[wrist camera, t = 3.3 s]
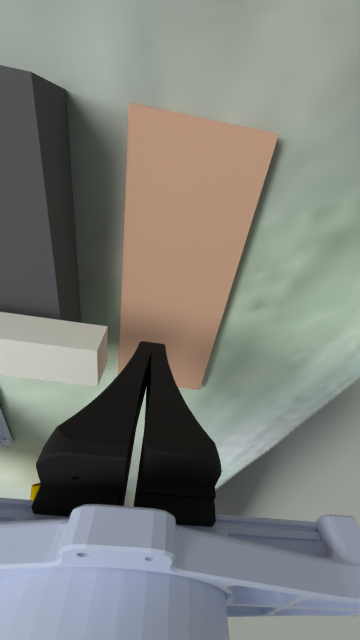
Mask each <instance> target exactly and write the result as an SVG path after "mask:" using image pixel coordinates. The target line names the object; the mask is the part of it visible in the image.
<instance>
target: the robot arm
mask: <svg viewBox="0 0 360 640" xmlns="http://www.w3.org/2000/svg"><path fill="white" fill-rule="evenodd" d="M146 386H147V390H146ZM145 390H146V411H145V427H144V436H143V443H142V450H141V457H140V465H139V472H138V479H137V486H136V493H135V500H134V507H128V506H124V501H125V495H126V489H127V482H128V476H129V470H130V463H131V457H132V451H133V444H134V438H135V432H136V427H137V422H138V418H139V414H140V410H141V406H142V402H143V398H144V394H145ZM12 443H13V440H12V437H11V435H10V432H9V429H8V426H7V424H6V421H5V418H4V416H3V413H2V410H1V407H0V447H1V446H11V445H12ZM36 469H37V472H38V476H39V479H40V482H41V485H40V487H39V490H38V492H37V494H36V497H35V499H34V500H23V499H10V498H0V640H230V639H229V629H228V618H227V617H250V616H251V617H252V616H353V617H354V616H358V615H360V528H359V526H358V524H357V522H356V520H355V518H354V517H352V516H342V515H324V516H321V517H320V518H319V519H318V520H317V521H316V522H307V521H294V520H281V519H269V518H256V517H242V516H230V515H229V516H228V515H216V514H215V505H214V499H215V496H216V495H215V485H216V483H217V481H218V479H219V477H220V475H221V472H222V470H221V463H220V459H219V455H218V451H217V448H216V445H215V443H214V442H213V440H212V439H211V438H210V437H209V436H208V435H207V433H206V432H205V431H204V430H203V428H202V427H201V426H200V424H199V423H198V422H197V420H196V419H195V417H194V416H193V414H192V412H191V411H190V409H189V408H188V406H187V404H186V403H185V401H184V399H183V397H182V395H181V393H180V391H179V389H178V387H177V385H176V382H175V380H174V377H173V375H172V372H171V369H170V366H169V363H168V359H167V354H166V347H165V345H164V344H161V343H153V342H146V341H141V342H140V343H139V345H138V347H137V349H136V351H135V353H134V354H133V356H132V357H131V359H130V360H129V362H128V363H127V365H126V366H125V367H124V369H123V370H122V371H121V372H120V374H119V375H118V376H117V377H116V378H115V379H114V381H113V382H112V383H111V384H110V385H109V386H108V387H107V388H106V389H105V390H104V391H103V392H102V393H101V394H100V395H99V396H98V397H96V398H95V399H94V400H93V401H92V402H91V403H89V404H88V405H87V406H86V407H84V408H83V409H82V410H81V411H79V412H78V413H77V414H75V415H74V416H72V417H71V418H69V419H68V420H66V421H65V422H63V423H62V424H60V425H59V426H57V428H56V429H55V430H54V432H53V433H52V435H51V436H50V438H49V439H48V441H47V442H46V444H45V446H44V448H43V450H42V452H41V454H40V456H39V458H38V461H37V463H36Z"/></svg>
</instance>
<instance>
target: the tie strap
mask: <svg viewBox="0 0 360 640" xmlns="http://www.w3.org/2000/svg"><path fill="white" fill-rule="evenodd" d="M107 336H108V326H101V325H93V324H86V323H79V322H71V321H64V320H57V319H49V318H42V317H35V316H27V315H20V314H13V313H6V312H0V375H3V376H12V377H20V378H29V379H37V380H46V381H54V382H63V383H72V384H80V385H89V386H97V387H98V385H99V382H100V379H101V377H102V374H103V371H104V368H105V366H106V363H107Z"/></svg>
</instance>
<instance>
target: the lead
mask: <svg viewBox="0 0 360 640" xmlns="http://www.w3.org/2000/svg"><path fill="white" fill-rule="evenodd" d="M0 312H6V313H13V314H20V315H27V316H35V317H42V318H49V319H57V320H64V321H71V322H79V323H81V314H80V298H79V283H78V268H77V253H76V238H75V223H74V207H73V192H72V177H71V162H70V147H69V132H68V117H67V101H66V90H65V89H63V88H61V87H59V86H57V85H55V84H53V83H52V82H50V81H48V80H46V79H44V78H42V77H40V76H38V75H36V74H34V73H32V72H29V71H24V70H20V69H15V68H10V67H6V66H1V65H0Z"/></svg>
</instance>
